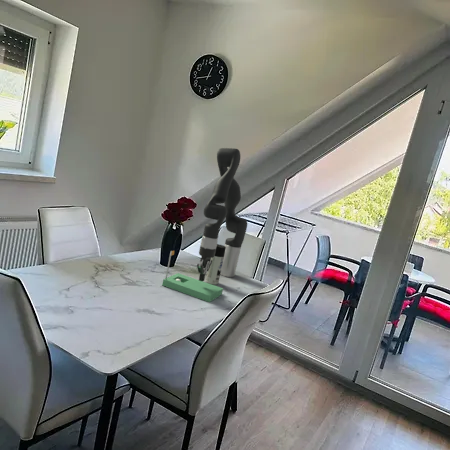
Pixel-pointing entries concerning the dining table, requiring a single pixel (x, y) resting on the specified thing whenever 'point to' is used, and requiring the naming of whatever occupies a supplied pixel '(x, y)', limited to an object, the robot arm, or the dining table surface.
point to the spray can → (216, 265)
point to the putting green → (192, 286)
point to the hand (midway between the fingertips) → (201, 280)
